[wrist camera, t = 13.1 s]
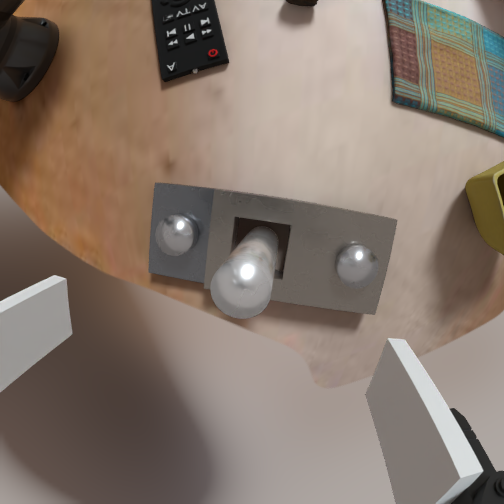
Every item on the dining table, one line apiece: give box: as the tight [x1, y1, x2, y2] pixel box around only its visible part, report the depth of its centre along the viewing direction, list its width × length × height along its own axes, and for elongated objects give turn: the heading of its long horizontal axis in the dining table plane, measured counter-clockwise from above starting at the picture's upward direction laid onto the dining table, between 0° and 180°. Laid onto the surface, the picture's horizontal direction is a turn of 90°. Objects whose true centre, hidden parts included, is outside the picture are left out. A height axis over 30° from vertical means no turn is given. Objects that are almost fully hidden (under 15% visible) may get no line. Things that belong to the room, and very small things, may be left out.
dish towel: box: [383, 0, 504, 137], centre depth 23 cm, size 17×23×2 cm
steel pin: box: [210, 226, 279, 319], centre depth 24 cm, size 4×4×15 cm
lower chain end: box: [149, 183, 317, 283], centre depth 30 cm, size 17×10×4 cm, turn 82°
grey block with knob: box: [204, 189, 397, 315], centre depth 29 cm, size 18×10×4 cm, turn 82°
